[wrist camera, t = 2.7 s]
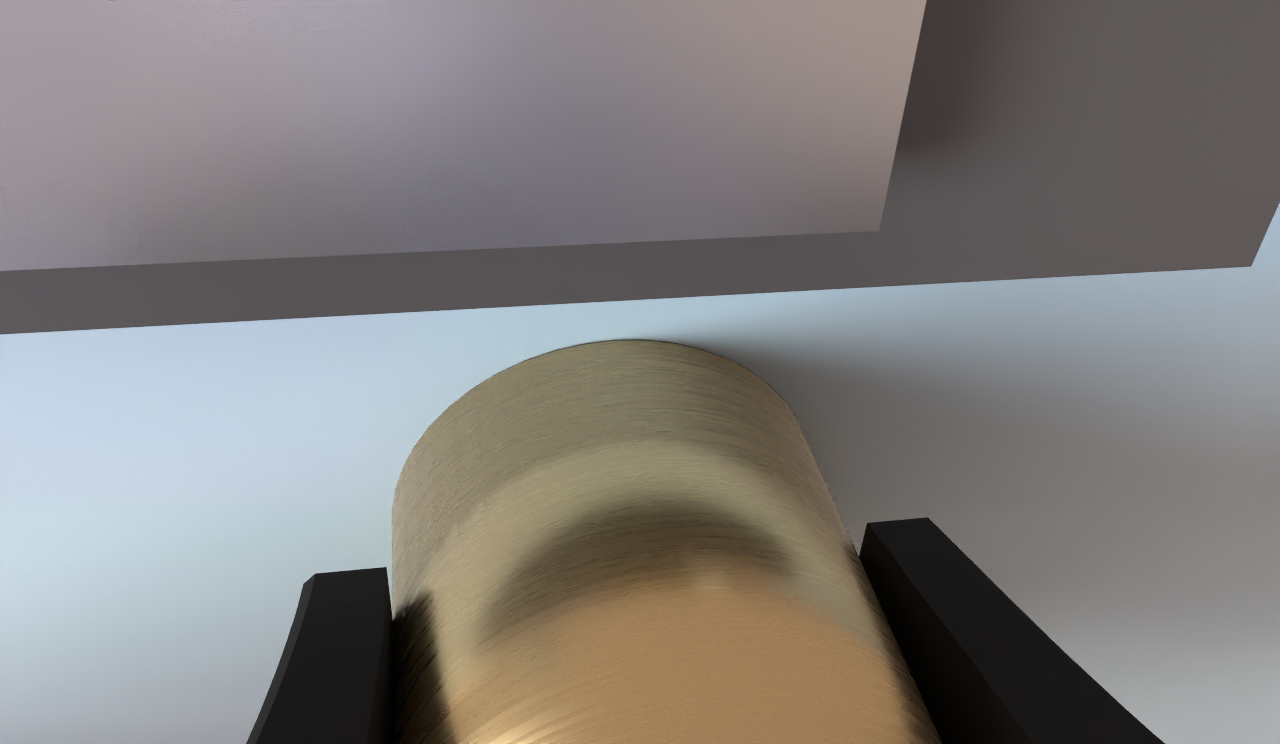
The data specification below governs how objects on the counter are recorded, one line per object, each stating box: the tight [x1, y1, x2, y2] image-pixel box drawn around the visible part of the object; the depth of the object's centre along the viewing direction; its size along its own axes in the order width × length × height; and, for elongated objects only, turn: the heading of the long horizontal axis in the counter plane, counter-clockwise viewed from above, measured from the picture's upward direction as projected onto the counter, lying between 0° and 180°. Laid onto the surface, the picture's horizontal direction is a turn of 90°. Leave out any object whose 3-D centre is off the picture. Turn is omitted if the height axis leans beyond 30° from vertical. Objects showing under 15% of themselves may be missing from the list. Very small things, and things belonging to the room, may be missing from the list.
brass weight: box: [392, 341, 943, 744], centre depth 10 cm, size 4×4×4 cm
